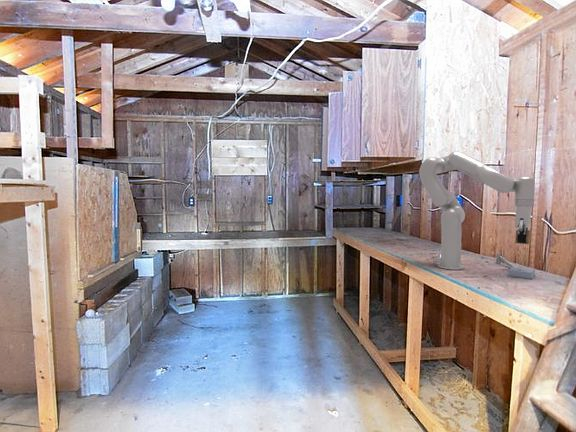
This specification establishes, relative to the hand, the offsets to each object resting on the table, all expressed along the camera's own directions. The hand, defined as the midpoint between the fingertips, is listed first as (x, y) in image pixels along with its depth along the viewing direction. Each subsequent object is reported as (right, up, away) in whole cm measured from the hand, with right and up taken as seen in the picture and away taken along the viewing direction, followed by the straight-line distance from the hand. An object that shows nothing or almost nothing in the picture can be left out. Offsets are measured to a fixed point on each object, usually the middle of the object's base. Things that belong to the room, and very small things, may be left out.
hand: (522, 241), depth 164 cm
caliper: (+6, -15, +20) cm, 26 cm away
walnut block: (0, -1, 0) cm, 1 cm away
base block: (0, -16, +1) cm, 16 cm away
